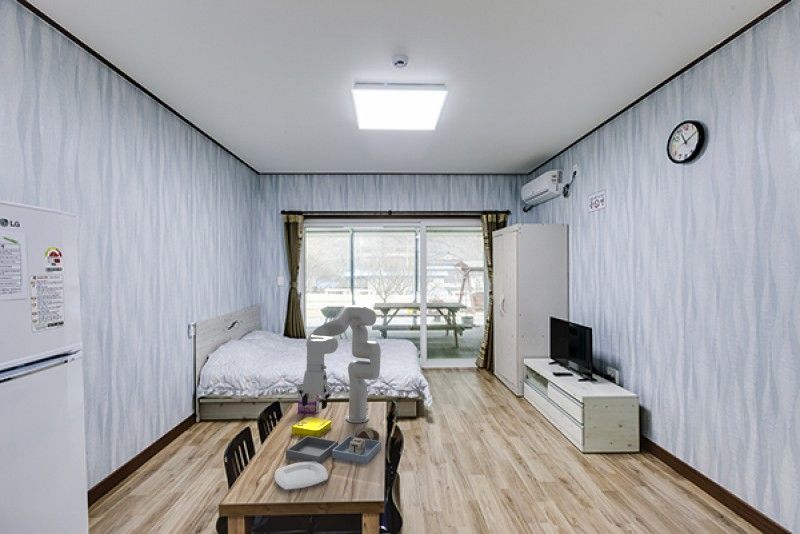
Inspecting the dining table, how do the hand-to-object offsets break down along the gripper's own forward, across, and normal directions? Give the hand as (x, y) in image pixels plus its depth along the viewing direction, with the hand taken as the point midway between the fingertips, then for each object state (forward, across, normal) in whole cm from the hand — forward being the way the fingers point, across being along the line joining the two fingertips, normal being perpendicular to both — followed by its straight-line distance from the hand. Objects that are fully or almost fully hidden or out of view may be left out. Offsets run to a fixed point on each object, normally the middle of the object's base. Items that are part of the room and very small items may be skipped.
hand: (314, 407), depth 168 cm
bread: (+21, -15, -23) cm, 34 cm away
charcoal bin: (+20, 0, 0) cm, 20 cm away
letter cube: (+20, -18, -7) cm, 27 cm away
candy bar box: (+20, +32, -45) cm, 58 cm away
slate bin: (+20, -18, -7) cm, 28 cm away
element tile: (+21, +14, -21) cm, 33 cm away
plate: (+21, -7, +19) cm, 29 cm away
